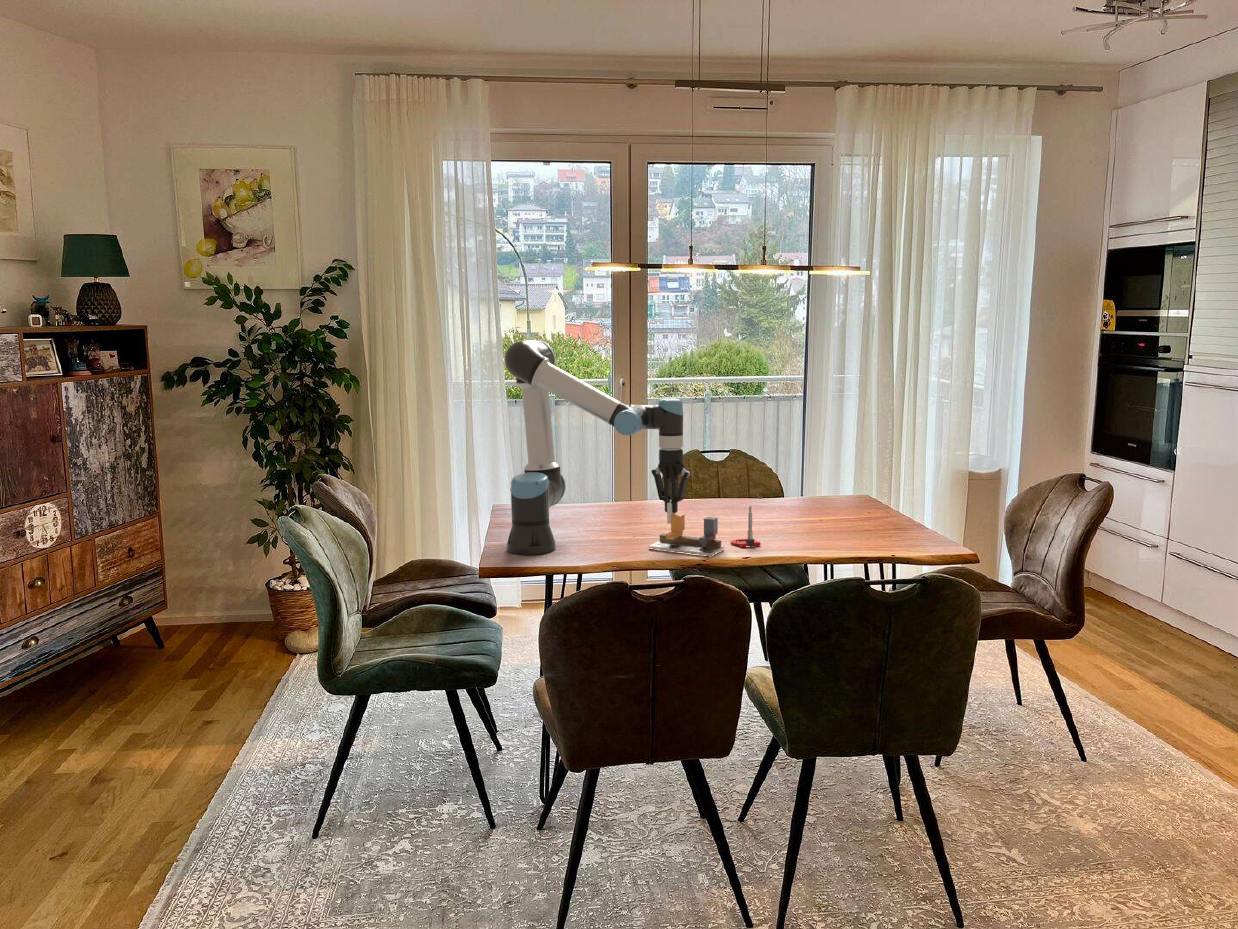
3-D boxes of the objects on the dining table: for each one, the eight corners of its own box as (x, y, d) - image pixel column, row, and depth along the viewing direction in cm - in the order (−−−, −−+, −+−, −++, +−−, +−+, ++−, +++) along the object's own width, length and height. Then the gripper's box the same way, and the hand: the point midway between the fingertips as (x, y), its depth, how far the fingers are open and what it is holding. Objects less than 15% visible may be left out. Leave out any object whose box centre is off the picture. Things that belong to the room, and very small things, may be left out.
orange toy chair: (674, 545, 288) (674, 519, 287) (664, 544, 289) (664, 518, 288) (684, 540, 294) (684, 514, 293) (675, 539, 296) (675, 513, 295)
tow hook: (726, 543, 299) (739, 548, 290) (726, 503, 297) (739, 507, 289) (749, 541, 302) (763, 546, 293) (749, 501, 300) (763, 506, 291)
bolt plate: (710, 557, 280) (710, 547, 280) (648, 549, 290) (648, 539, 290) (723, 550, 289) (723, 539, 288) (662, 542, 299) (662, 533, 298)
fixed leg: (707, 549, 282) (707, 522, 281) (697, 548, 284) (697, 521, 283) (717, 544, 289) (717, 517, 288) (707, 542, 291) (708, 516, 289)
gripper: (695, 448, 290) (695, 522, 294) (657, 445, 297) (658, 518, 300) (684, 451, 284) (684, 527, 288) (646, 448, 290) (647, 522, 294)
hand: (671, 522), depth 294 cm, fingers closed
